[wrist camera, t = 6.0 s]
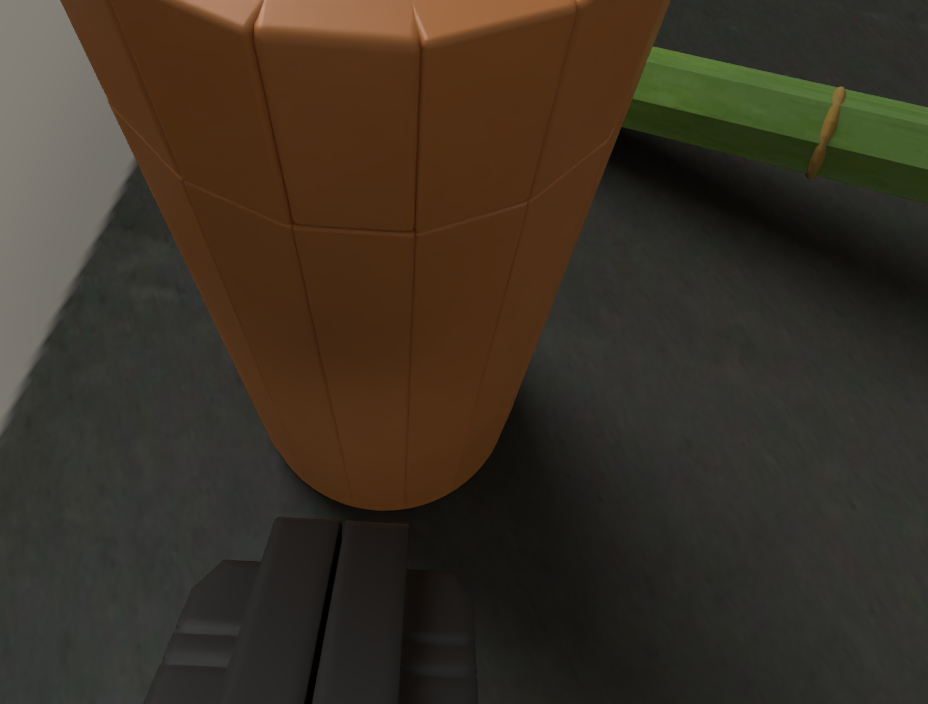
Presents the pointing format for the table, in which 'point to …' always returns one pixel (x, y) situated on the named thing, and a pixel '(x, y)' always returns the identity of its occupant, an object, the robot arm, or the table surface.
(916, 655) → the table surface
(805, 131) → the decorative plant
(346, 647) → the robot arm
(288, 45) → the jar
